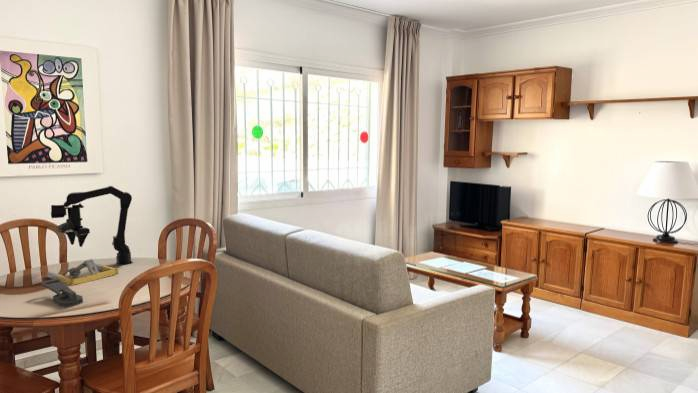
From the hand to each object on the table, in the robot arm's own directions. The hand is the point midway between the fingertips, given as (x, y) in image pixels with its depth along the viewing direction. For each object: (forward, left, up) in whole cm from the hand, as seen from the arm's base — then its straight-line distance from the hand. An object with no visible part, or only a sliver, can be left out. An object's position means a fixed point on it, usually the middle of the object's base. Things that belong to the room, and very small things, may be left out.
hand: (76, 245), depth 258 cm
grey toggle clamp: (+28, +46, -13) cm, 55 cm away
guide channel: (+5, +15, -12) cm, 20 cm away
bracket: (+8, +17, -13) cm, 23 cm away
